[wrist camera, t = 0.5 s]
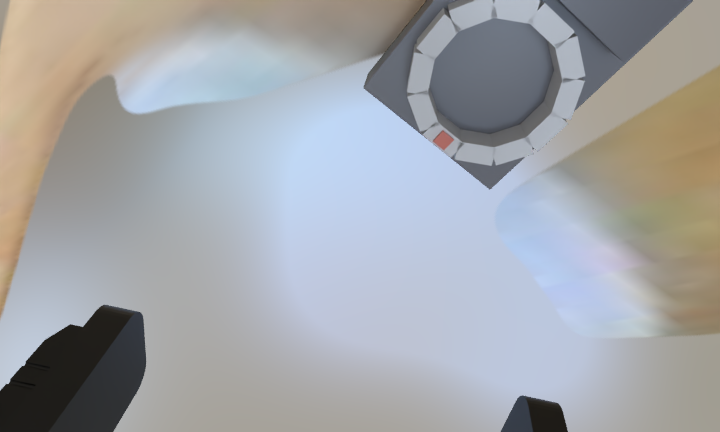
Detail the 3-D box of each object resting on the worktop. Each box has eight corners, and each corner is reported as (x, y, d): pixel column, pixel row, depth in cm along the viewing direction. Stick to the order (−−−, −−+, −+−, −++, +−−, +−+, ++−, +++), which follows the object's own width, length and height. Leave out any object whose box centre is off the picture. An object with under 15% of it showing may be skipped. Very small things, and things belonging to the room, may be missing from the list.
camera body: (540, -142, 26) (567, -154, 21) (668, -8, 29) (720, 10, 24) (368, 73, 33) (358, 103, 28) (485, 169, 35) (495, 211, 30)
